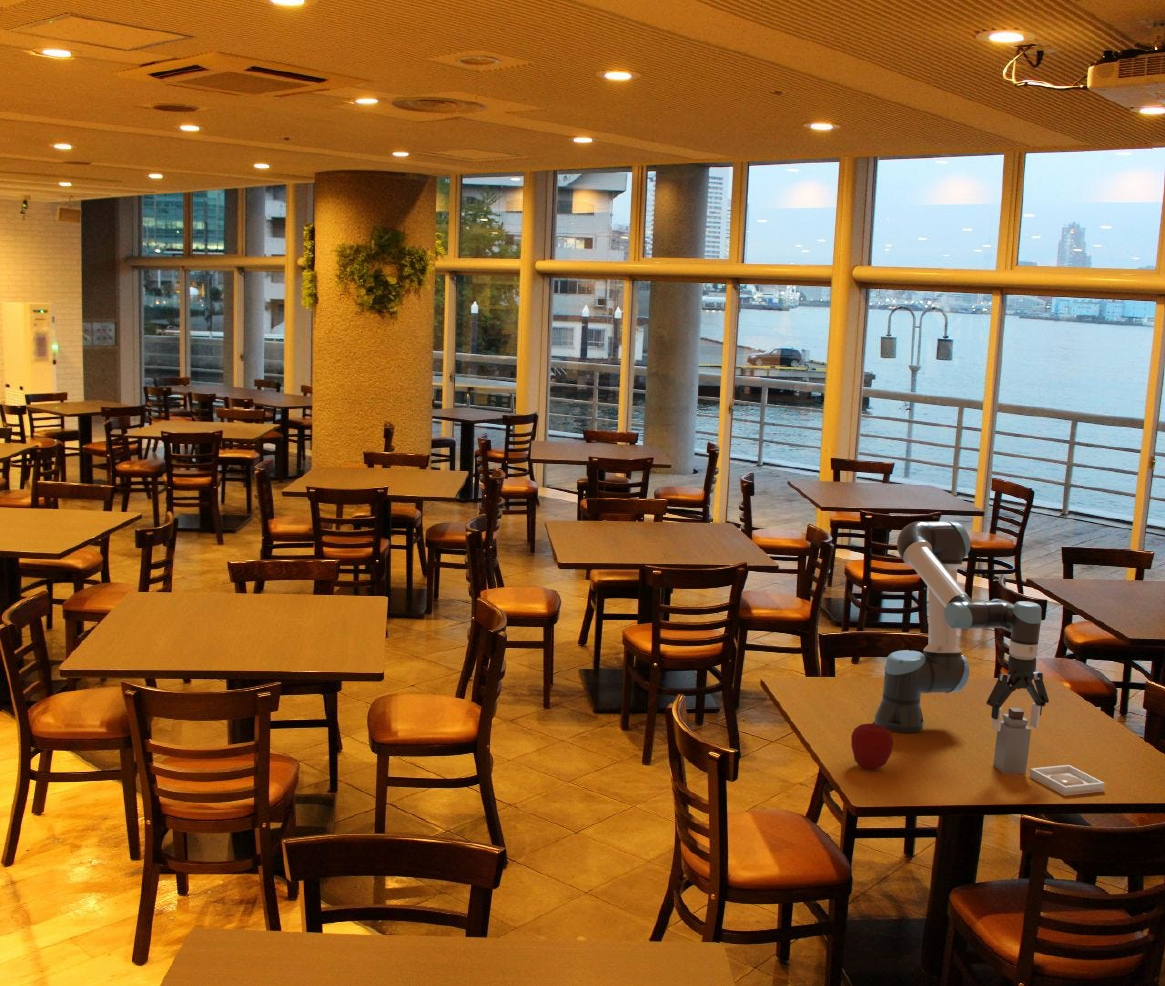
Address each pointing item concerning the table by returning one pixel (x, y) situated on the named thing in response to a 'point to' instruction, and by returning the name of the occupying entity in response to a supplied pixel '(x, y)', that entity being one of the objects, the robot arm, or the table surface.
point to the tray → (1067, 780)
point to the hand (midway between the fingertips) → (1015, 728)
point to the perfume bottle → (1012, 743)
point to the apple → (871, 745)
